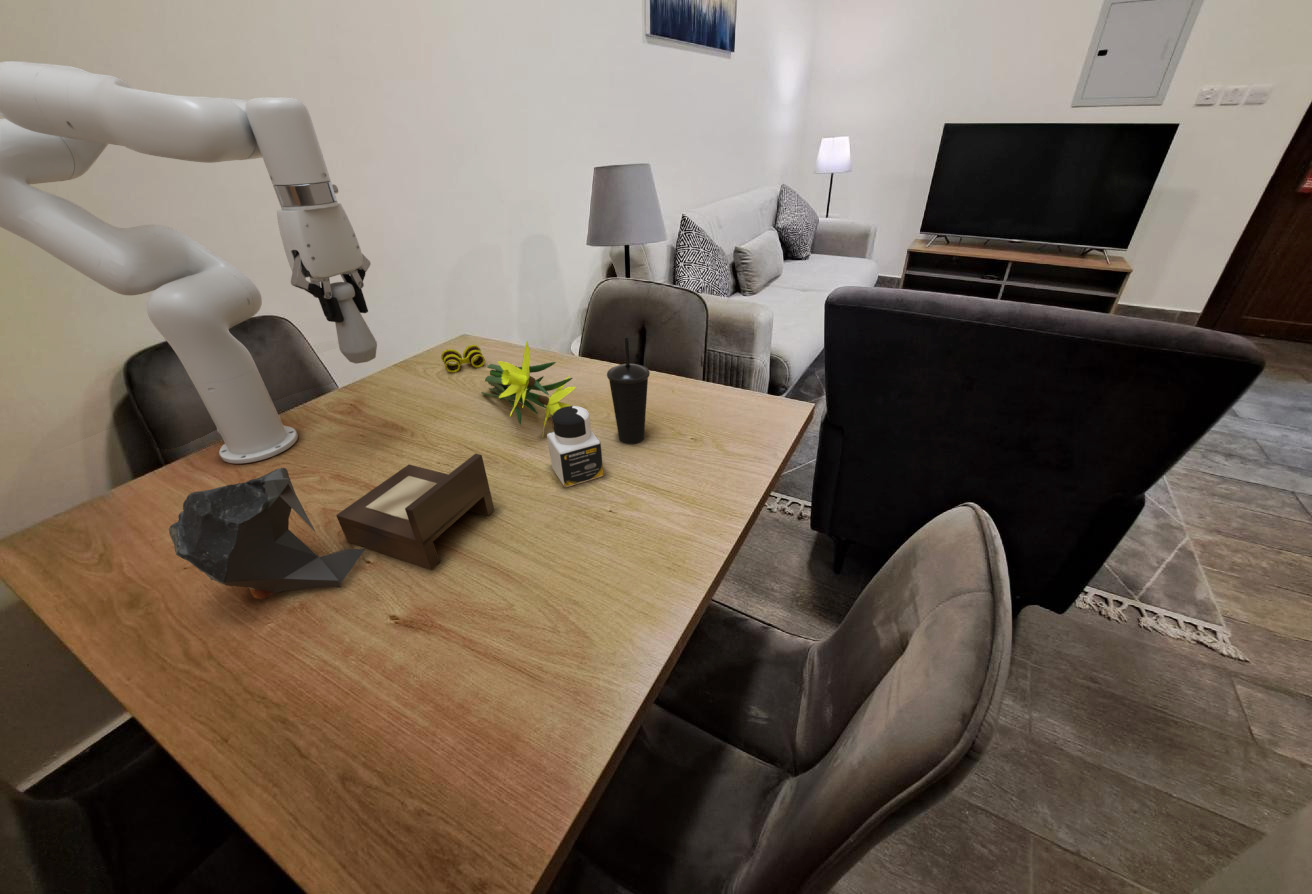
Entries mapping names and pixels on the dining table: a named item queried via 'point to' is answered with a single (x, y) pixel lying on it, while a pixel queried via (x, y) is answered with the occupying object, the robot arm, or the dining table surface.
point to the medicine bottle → (574, 447)
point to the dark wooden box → (416, 510)
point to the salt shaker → (352, 327)
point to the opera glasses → (468, 357)
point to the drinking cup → (629, 398)
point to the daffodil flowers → (526, 386)
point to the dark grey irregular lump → (254, 538)
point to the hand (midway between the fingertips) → (348, 315)
